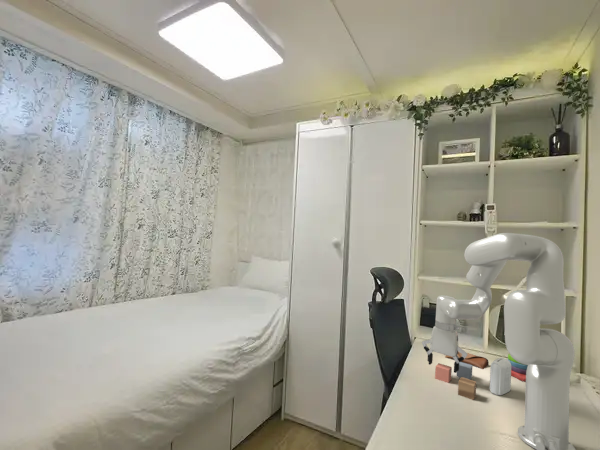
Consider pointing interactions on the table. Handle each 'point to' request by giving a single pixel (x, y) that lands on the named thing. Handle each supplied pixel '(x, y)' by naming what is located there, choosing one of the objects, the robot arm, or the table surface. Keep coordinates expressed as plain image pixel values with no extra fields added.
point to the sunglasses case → (473, 360)
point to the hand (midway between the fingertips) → (442, 367)
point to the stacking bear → (518, 369)
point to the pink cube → (443, 372)
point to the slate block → (465, 370)
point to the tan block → (467, 388)
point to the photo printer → (500, 376)
